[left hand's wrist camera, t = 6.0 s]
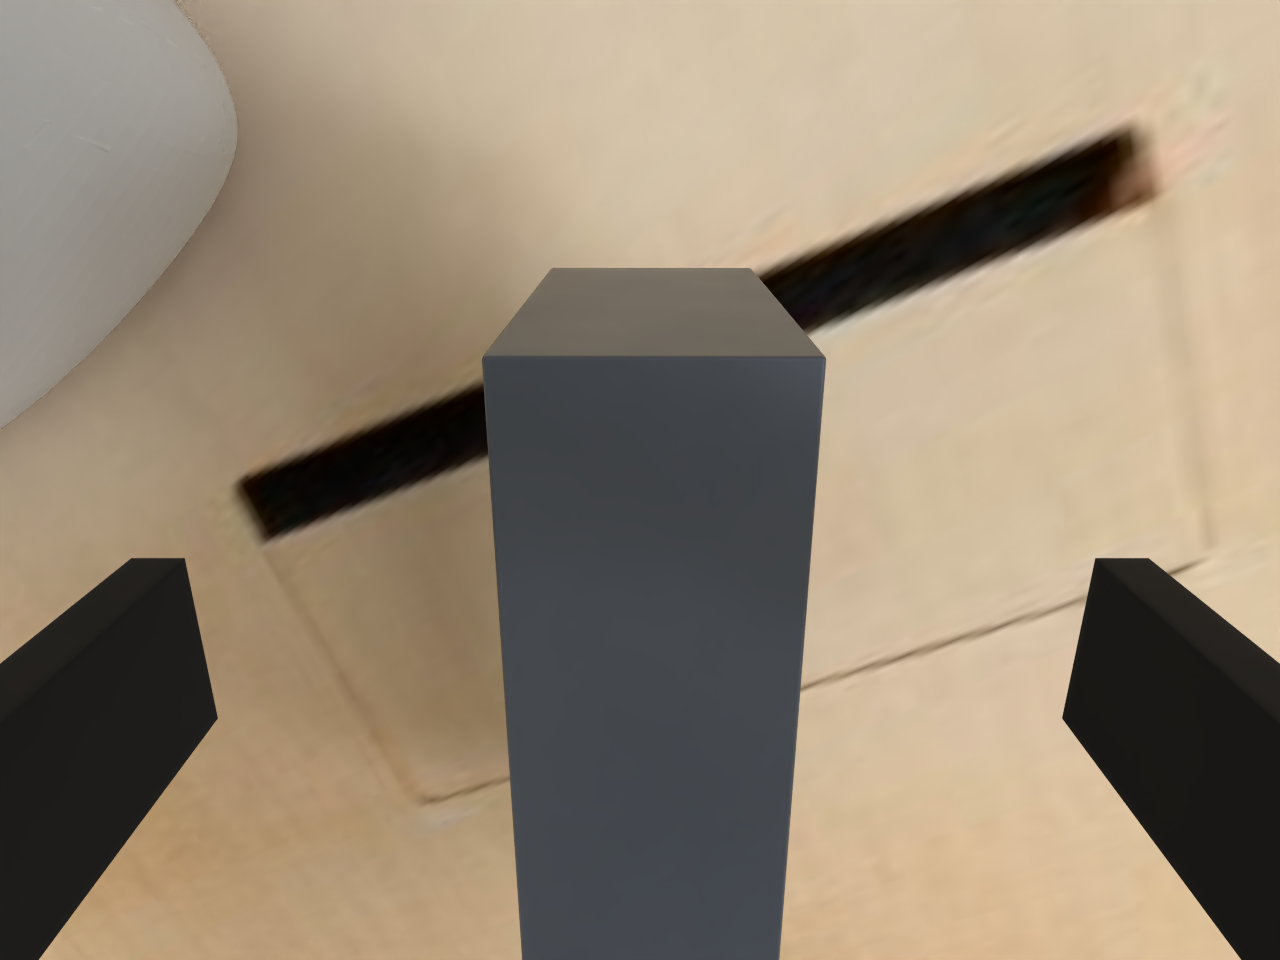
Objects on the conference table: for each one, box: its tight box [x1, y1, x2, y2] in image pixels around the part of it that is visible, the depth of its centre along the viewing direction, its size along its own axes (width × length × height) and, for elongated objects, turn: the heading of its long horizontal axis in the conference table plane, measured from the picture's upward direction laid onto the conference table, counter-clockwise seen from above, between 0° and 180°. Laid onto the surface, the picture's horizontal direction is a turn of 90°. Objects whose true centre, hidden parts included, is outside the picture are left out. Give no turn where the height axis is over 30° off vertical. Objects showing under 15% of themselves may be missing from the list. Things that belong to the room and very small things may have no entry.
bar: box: [482, 268, 826, 960], centre depth 20 cm, size 22×5×9 cm, turn 0°
